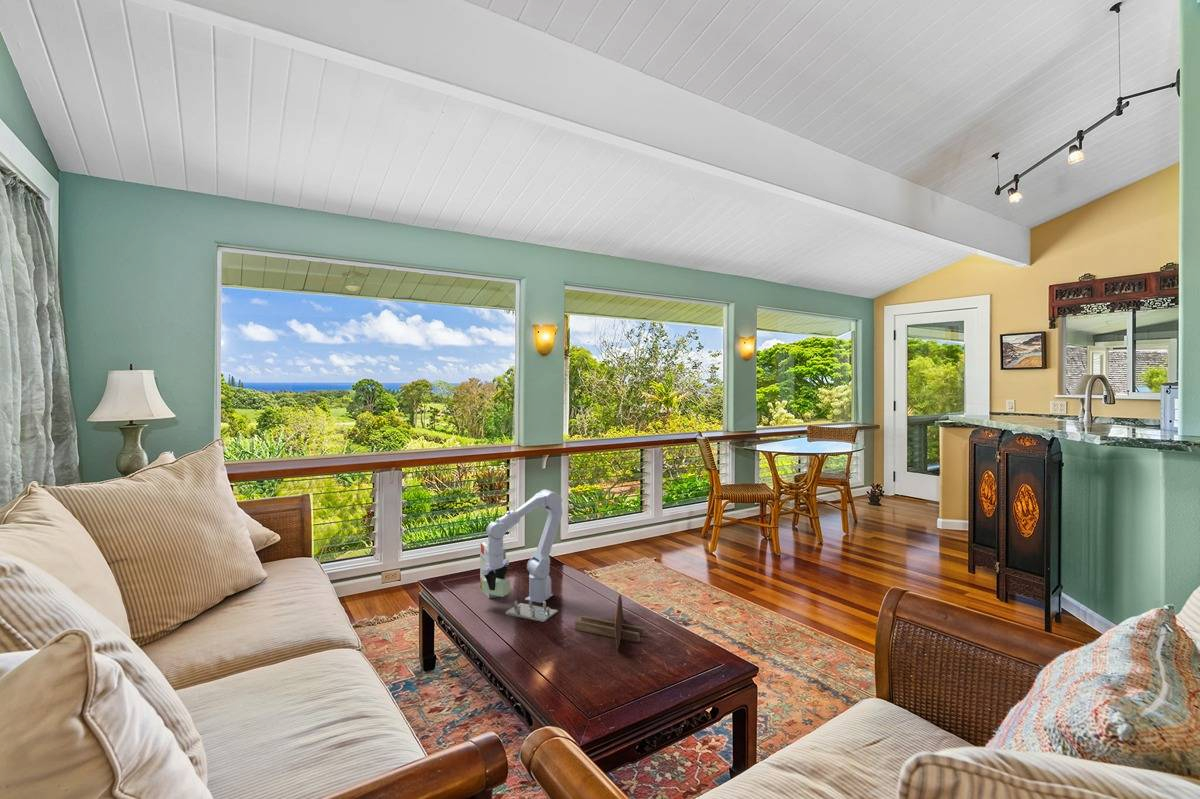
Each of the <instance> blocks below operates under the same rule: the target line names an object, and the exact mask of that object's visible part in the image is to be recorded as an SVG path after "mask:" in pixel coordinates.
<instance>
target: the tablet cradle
mask: <svg viewBox="0 0 1200 799" xmlns="http://www.w3.org/2000/svg"><path fill="white" fill-rule="evenodd" d="M622 627H623V629H621V639H620V640H624V641H625V640H626V641H629V642H634V643H639V642H640V637H644V636H645V627H642V626H638V625H632V624H628V623H624V624H622ZM574 630H576V631H580V632H585V633H590V634H595V635H596V634H597V635H601V636H605V637H610V638H613V639H616V638H615V621H612V620H606V619H600V618H596V617H591V616H586V615H582V616H581V617H580V620H575V621H574Z"/></svg>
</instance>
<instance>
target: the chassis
mask: <svg viewBox="0 0 1200 799" xmlns="http://www.w3.org/2000/svg"><path fill="white" fill-rule="evenodd" d="M513 604H514V606H513V607H511V608H510V609H508V610H506V611H505V615H508V616H511V617H512V616H513V617H517V618H521V619H522V618H523V619H526V620H532V621H537V622H543V623H544V622H546V621H547V620H549V619H550V618H551V617H553V616H555V615H556V614H557V613H558V612H559V610H558V609H553V608H550V606H547V602H546V601H543V602H542V606H538V605H533V601H532V599H529V601H528V603H522V602H520V603H518V600H514V602H513Z"/></svg>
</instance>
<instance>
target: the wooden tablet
mask: <svg viewBox="0 0 1200 799" xmlns="http://www.w3.org/2000/svg"><path fill="white" fill-rule="evenodd" d="M614 616H615V618H614V622H615V638H614V639H615V647H616V650H619V647H620V644H621V640H622V639H621V629H623V627H622V624H625V616H624V610H623V600H622V595H621V594H620V593H619V594H618V598H617V604H616V609H615V615H614Z"/></svg>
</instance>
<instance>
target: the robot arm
mask: <svg viewBox="0 0 1200 799" xmlns="http://www.w3.org/2000/svg"><path fill="white" fill-rule="evenodd" d="M562 502H563V499H562V497H561V496H560V494H559V493H558V492H557V491H556V492H555V491H552V490H549V489H547V488H544V489H541V490H540V491H539V492H537V493H535V494H534V495H533V496H532V497H531V498H530V499H528V500H527V501H526V502H525V503H523V504H522V505H521V506H520V507H519V508H517V509H516V510H510V511H509V510H507V511H506V512H505V514H504V515H502V516H501V517H500V518H496V519H495V521H492V522H490V523H488V525H487V526H486V529H485V532H486V534H487V535H488V540H487V541H488V563H487V566H486V567H485V568H484V569H482V574H483V575H484V576H485V578H486V580H487V583H488V586H489V590H493V591H494V590H495V583H496V578H500V579H504V578H505V575H507V572H508V571H509V564H510V560H509V559H507V558H506V559H504V560H503V547H504V536H506V532H508V531H509V530H510V529H512V528H513V527H515V526H516V525H517V524H519V523H520V521H521V518H522V517H524V516H525V515H527V514H528V513H530V512H531V511H534V510H535V509H536V508H545V510H546V512H547V518H546V521H545V524H544V526H543V527H544V528H543V529H542V530H543V531H542V533H541V536H540V540H539V543H538V546H537V548H536V551H534V553H532V555H531V558H530V559H529V560H528V561H527V564H526V570H527V571H528V572H529V575H528V577H529V578H528V585H529V586H528V588H529V589H528V596H526V597H525V598H524V600H525V601H528V602H529V599H532V603H533V602H534V603H538V604H543V602H546V601H547V600H548V599H550V598H551V597H552V596H553V595H554V594H553V593H552V578H551V576H550V575H549V574H550V571H551V570H550V569H551V568H550V564H551V559H550V553H551V549H552V548H553V544H554V542H555V541H554V540H555V538H556V535H557V531H558V530H559V525H560V522H561V520H562V516H563V508H562ZM505 565H506V567H505ZM494 570H495V573H494Z"/></svg>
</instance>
